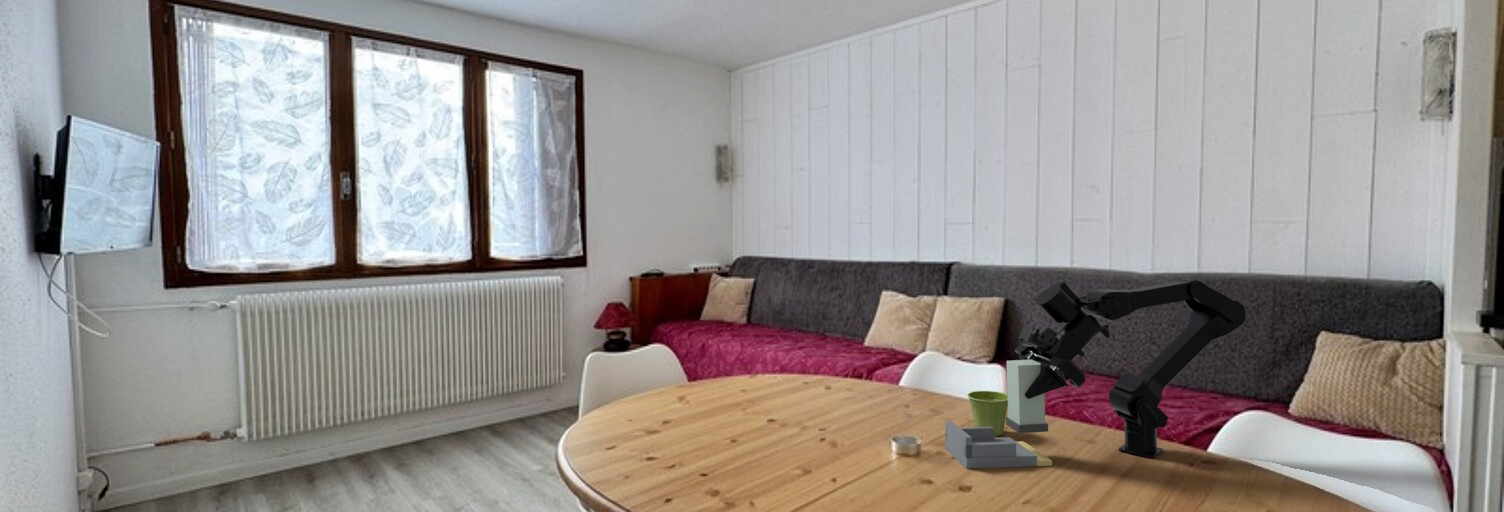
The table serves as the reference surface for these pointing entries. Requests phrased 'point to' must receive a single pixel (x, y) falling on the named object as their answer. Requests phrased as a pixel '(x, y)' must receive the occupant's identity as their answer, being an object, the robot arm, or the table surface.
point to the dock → (989, 449)
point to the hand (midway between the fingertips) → (1019, 393)
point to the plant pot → (989, 409)
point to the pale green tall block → (1024, 398)
